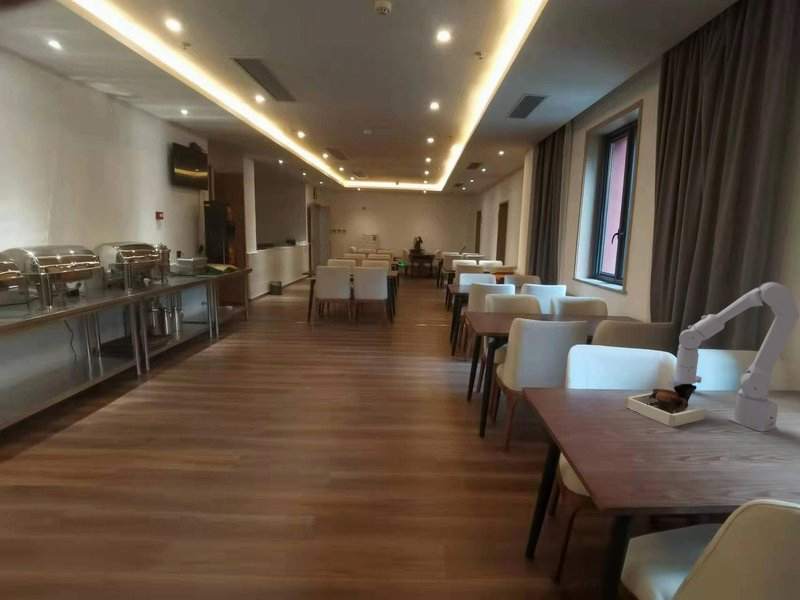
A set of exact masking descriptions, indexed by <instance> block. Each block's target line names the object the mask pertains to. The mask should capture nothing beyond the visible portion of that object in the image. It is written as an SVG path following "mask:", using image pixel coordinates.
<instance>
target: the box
mask: <svg viewBox="0 0 800 600" xmlns="http://www.w3.org/2000/svg"><path fill="white" fill-rule="evenodd" d="M652 393H653V392H649V393H644V394H638V395H632V396H626V397H625V401H624V408H625V407H626V408H625V409H627V408H629V409H631V410H630V411H632V410H633V411H632V412H634V411H636V412H635V413H637V412H638V413H637V414H639V413H640V414H639V415H642V416H644V417H647V418H649V419H652V420H654V421H657V422H658V423H661V424H664V425H665V426H666V425H667V426H669V427H671V428H673V427H678V426H681V425H686V424H689V423H694V422H698V421H703V420H705V419H706V418H705V417H706V411H707V409H706V407H698V408H693V409H689V410H684V411H680V412H679V413H676V412H674V413H673V414H670V413H668V412H665V411H662V410H660V409H657V408H655V407H652V405H650V404H648V403H653V402H658V400H657V399H654V398H649V397H650V395H651V394H652ZM647 404H648V405H647ZM653 404H654V403H653ZM629 409H628V410H629Z"/></svg>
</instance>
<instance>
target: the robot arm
mask: <svg viewBox="0 0 800 600" xmlns="http://www.w3.org/2000/svg"><path fill="white" fill-rule="evenodd" d="M763 303H765V304H766V305H768V306H769V307H770V309H771V311H772V312H773V314H774V315H775V317H774V319H773V321H772V323H771V326H770V328H769V329H768V330H767V331H768V332H767V333H766V336H765V338H764V340H763V342H762V344H761V346H760V348H759V350H758V352H757V354H756V356H755V358H754V361H752V363H751V364H750V366H749V367H748V369H747V370H746V371H745V372H744V373H742V374H741V375H740V377H739V383H740V385H741V388H740V389H739V390H737V393H736V401H735V407H734V408H735V409H734V414H733V416H730V417H727V418H726V419H727V420H728V421H730V422H733V423H736V424H738V425H741V426H744V427H747V428H749V429H753V430H756V431H758V432H761V433H762V432H766V431H771V430H775V429H777V426H776V424H777V417H778V411H779V406H778V404H777V402H776V401H775V402H774V401H772V400H771V399H769V396H768V394H769V393H770V386H769V384H770V382H771V379H772V375H773V370H774V368H775V366H776V364H777V362H778V361H779V358H780V356H781V354H782V352H783V351H784V348H785V346H786V344H787V343H788V340H789V338H790V337H791V335H792V333H793V331H794V328H795V327H796V324H797V322H798V321H799V318H800V311H799V310H798V306H797V303H796V300H795V295H794V294H793V293H792V291H790V290H789V288H788V287H786V286H785V285H784V284H780V283H779V282H776V281H768V282H764V283H762V284H761V285H760V286H759V287H755V288H754V289H752V290H750V291H748V292H746V293H745V294H743V295H742V296H741V297H739V298H738V299H736V300H735V301H733V302H732V303H730V305H728V306H727V307H726V308H724V309H722V310H721V311H720V312H718V313H717V314H715V313H714V314H710V313H709V314H708V315H702V316H701V319H700V320H699V321H698V322H697V321H696V323H694V324H692V325H691V324H690V325H688V326H687V328H688V329H684V330H683V331H681V332H680V334H679V336H678V342H679V345H678V351H677V354H676V355H677V356H676V364H675V373H674V374H671V378H670V379H668V380H667V385H666V386H667V387H670V388H672V387H673V388H674V389H673V388H672V389H673V391H674V392H676V393H678V394H679V395H678V397H680V398H684V399H686V400H687V401H688V402H689V401H690V397H691V396H692V395H693V393H694V392H695V391H696V390H697V387H698V386H697V385H695V384H700V383H702V379H703V378H702V376H699V375H697V372H698V364H699V363H698V362H699V356H700V355H699V347H700V346H701V345H702V341H707V340H708V339H709V338H711V337H713V336H715V334H716V335H717V334H718V333H719V332H721V331H722V330H724V328H725V324H726V323H727V322H728V321H729V320H731V319H733V318H734V317H736V316H737V315H739V314H742V312H745V311H746V310H748V309H749V308H753V307H762V306H764V304H763ZM682 404H683V402H682V403H681V406H682Z"/></svg>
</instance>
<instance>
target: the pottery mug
mask: <svg viewBox="0 0 800 600" xmlns="http://www.w3.org/2000/svg"><path fill="white" fill-rule="evenodd" d="M651 393H652V394H651V395H650V397H649V398H654V399H657V400H658V403H657V404H651V406H652V407H655V408H657V409H660V410H662V411H665V412H668V413H670V414H674V413H680V412H684V411H686V410H687V408H688V407H689V400H688V401H687V400H686V399H684V398H680V397H678V395H679V394H678V393H676V392H675V390H670V389H665V388H655V389H652V392H651ZM682 402H683V404H682V406H681V403H682Z"/></svg>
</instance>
